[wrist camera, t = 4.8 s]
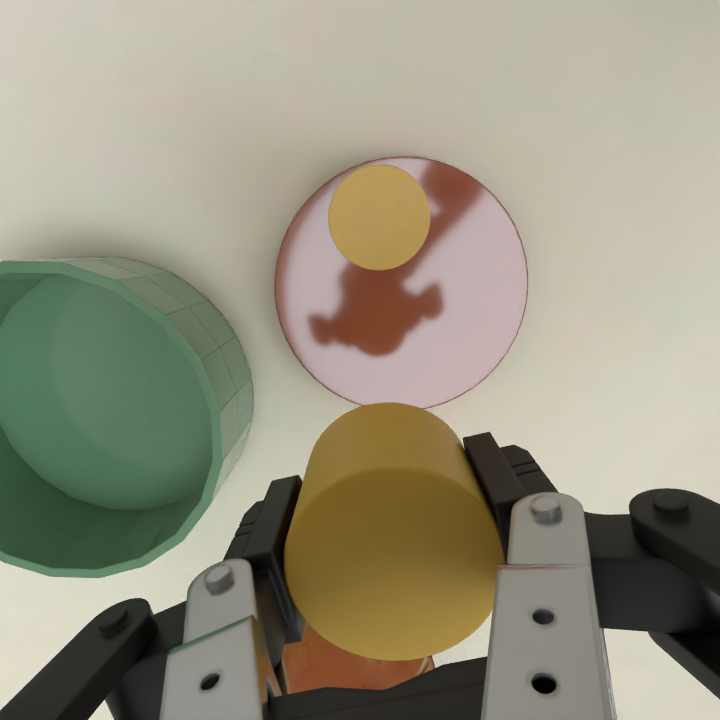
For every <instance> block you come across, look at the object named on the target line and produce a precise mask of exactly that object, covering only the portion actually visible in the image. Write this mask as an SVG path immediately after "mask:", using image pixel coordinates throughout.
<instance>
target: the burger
mask: <svg viewBox="0 0 720 720" xmlns="http://www.w3.org/2000/svg"><path fill="white" fill-rule="evenodd" d="M282 656H283V659H284V662H285V665H286V668H287V673H288V678H289V684H290V689H291V694H292V693H297V692H303V691H308V690H313V689H318V688H324V687H338V688H356V689H374V690H384V689H388V688H391V687H393V686H396V685H398V684H400V683H403V682H405V681H407V680H409V679H412V678H414V677H416V676H419V675H421V674H423V673H426V672H428V671H430V670H432V669H435V665H434V662H433V659H432V655H430V656H427V657H423V658H418V659H411V660H398V661H391V660H379V659H373V658H367V657H363V656H360V655H357V654H353V653H351V652H348V651H346V650H344V649H341V648H339V647H338V646H336V645H334V644H332V643H330V642H329V641H328V640H326V639H325V638H323V637H322V636H321V635H319V634H318V633H317V632H316V631H315V630H314V629H313V628H312V627H311V626H309V624H308V623H307V622H306V621H305V626H304V631H303V637H302V641H300V642H295V643H290V644H285V645H284V649H283V654H282Z"/></svg>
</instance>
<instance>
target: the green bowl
mask: <svg viewBox="0 0 720 720" xmlns="http://www.w3.org/2000/svg"><path fill="white" fill-rule="evenodd" d="M252 412H253V388H252V381H251V374H250V371H249V367H248V363H247V359H246V357H245V354H244V352H243V349H242V347H241V345H240V342H239V340H238V339H237V337H236V335H235V333H234V332H233V330H232V328H231V326H230V325H229V324H228V322H227V321H226V320H225V318H224V317H223V316H222V314H221V313H220V312H219V311H218V310H217V308H216V307H215V306H214V305H213V304H212V303H211V302H210V301H209V300H208V299H207V298H206V297H205V296H203V295H202V294H201V293H200V292H199V291H197V290H196V289H195V288H194V287H192V286H191V285H189V284H188V283H186V282H185V281H183V280H182V279H180V278H178V277H177V276H175V275H173V274H171V273H169V272H167V271H164V270H162V269H160V268H158V267H155V266H152V265H149V264H146V263H143V262H139V261H134V260H129V259H126V258H110V257H72V258H51V259H30V260H9V261H2V262H0V561H2V562H4V563H7V564H10V565H14V566H17V567H20V568H24V569H27V570H30V571H34V572H37V573H40V574H44V575H47V576H52V577H79V578H102V577H106V576H109V575H113V574H117V573H121V572H124V571H128V570H132V569H136V568H139V567H143V566H145V565H147V564H149V563H150V562H152V561H153V560H155V559H156V558H158V557H160V556H161V555H163V554H164V553H166V552H167V551H169V550H170V549H172V548H173V547H175V546H176V545H178V544H179V543H181V542H182V541H183V540H184V539H185V538H186V537H187V535H188V534H189V533H190V531H191V530H192V529H193V527H194V526H195V525H196V523H197V522H198V521H199V519H200V518H201V517H202V515H203V514H204V513H205V511H206V510H207V509H208V507H209V506H210V505H211V503H212V501H213V500H214V498H215V496H216V495H217V493H218V492H219V490H220V488H221V487H222V485H223V483H224V482H225V480H226V479H227V477H228V475H229V474H230V472H231V470H232V469H233V467H234V466H235V464H236V462H237V461H238V459H239V457H240V455H241V452H242V449H243V446H244V444H245V442H246V439H247V436H248V432H249V429H250V426H251V419H252Z"/></svg>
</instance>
